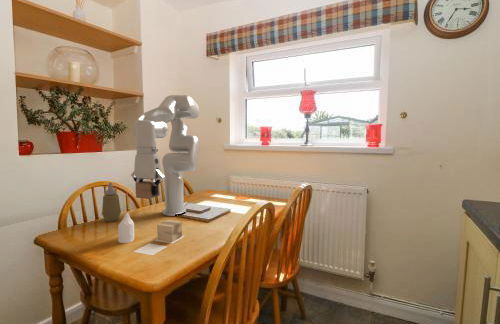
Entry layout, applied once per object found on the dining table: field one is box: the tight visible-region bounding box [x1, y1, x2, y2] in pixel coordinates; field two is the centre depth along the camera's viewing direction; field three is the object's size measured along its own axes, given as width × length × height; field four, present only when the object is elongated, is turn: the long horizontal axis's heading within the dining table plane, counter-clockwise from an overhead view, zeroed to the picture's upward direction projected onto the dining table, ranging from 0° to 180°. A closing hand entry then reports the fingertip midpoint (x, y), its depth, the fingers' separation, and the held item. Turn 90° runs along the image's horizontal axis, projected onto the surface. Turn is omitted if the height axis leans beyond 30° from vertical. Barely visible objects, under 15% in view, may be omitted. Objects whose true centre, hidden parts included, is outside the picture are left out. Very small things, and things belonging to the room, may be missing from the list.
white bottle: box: [117, 212, 135, 244], centre depth 105 cm, size 6×12×6 cm
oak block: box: [156, 219, 183, 243], centre depth 107 cm, size 6×6×6 cm
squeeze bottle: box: [101, 182, 122, 223], centre depth 133 cm, size 8×8×18 cm
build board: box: [133, 235, 185, 257], centre depth 103 cm, size 22×14×1 cm, turn 160°
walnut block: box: [135, 179, 160, 200], centre depth 115 cm, size 6×6×6 cm
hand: (147, 193), depth 116 cm, fingers closed on walnut block, 6 cm apart
